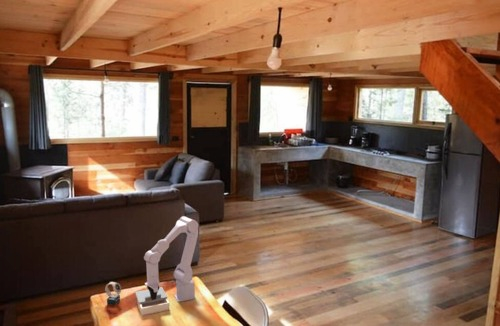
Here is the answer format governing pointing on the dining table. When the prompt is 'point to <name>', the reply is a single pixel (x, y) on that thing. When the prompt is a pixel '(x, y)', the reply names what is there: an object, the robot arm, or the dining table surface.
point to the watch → (113, 298)
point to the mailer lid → (145, 295)
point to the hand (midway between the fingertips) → (153, 299)
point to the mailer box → (153, 306)
